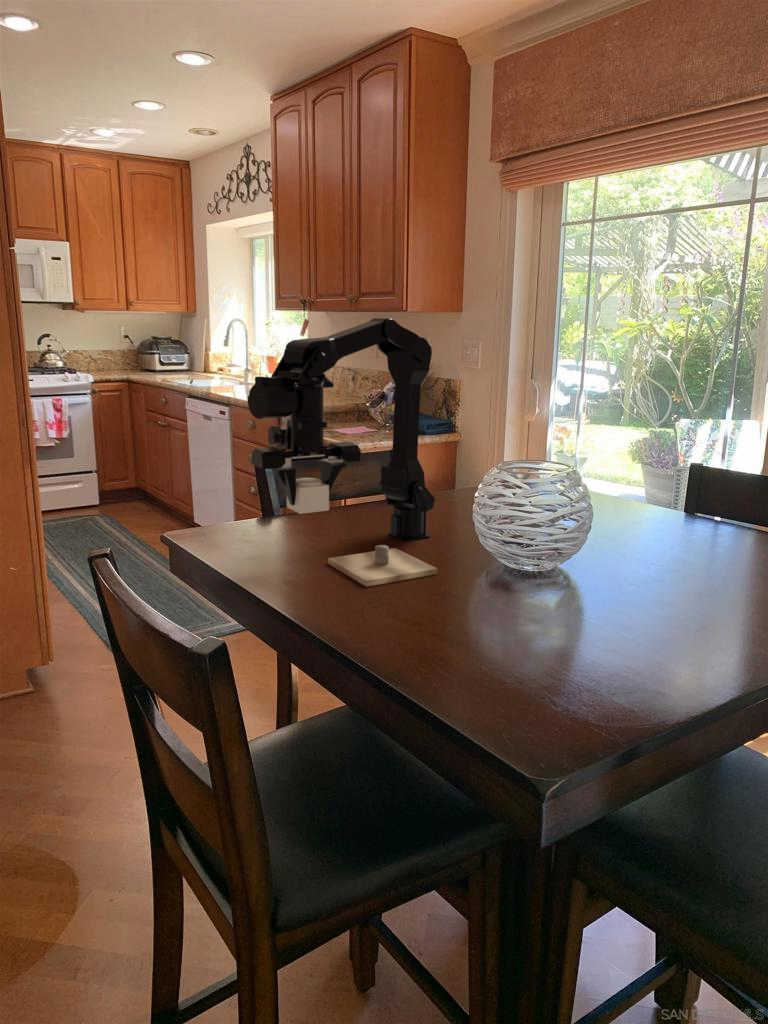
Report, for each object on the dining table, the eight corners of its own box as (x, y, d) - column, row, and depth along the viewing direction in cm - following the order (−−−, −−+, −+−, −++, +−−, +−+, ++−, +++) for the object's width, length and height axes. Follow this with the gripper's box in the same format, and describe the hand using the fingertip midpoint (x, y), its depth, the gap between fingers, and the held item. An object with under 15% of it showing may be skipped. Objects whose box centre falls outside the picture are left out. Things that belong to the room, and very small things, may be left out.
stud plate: (394, 553, 142) (395, 532, 141) (436, 573, 130) (437, 551, 129) (328, 563, 135) (328, 542, 134) (366, 586, 123) (366, 563, 122)
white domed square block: (315, 503, 137) (315, 476, 136) (329, 510, 133) (328, 482, 131) (286, 507, 135) (286, 479, 133) (299, 513, 130) (299, 484, 129)
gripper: (334, 408, 141) (334, 489, 145) (238, 412, 132) (241, 499, 135) (363, 414, 132) (362, 501, 135) (262, 419, 122) (264, 512, 126)
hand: (307, 503), depth 133 cm, fingers closed on white domed square block, 6 cm apart
